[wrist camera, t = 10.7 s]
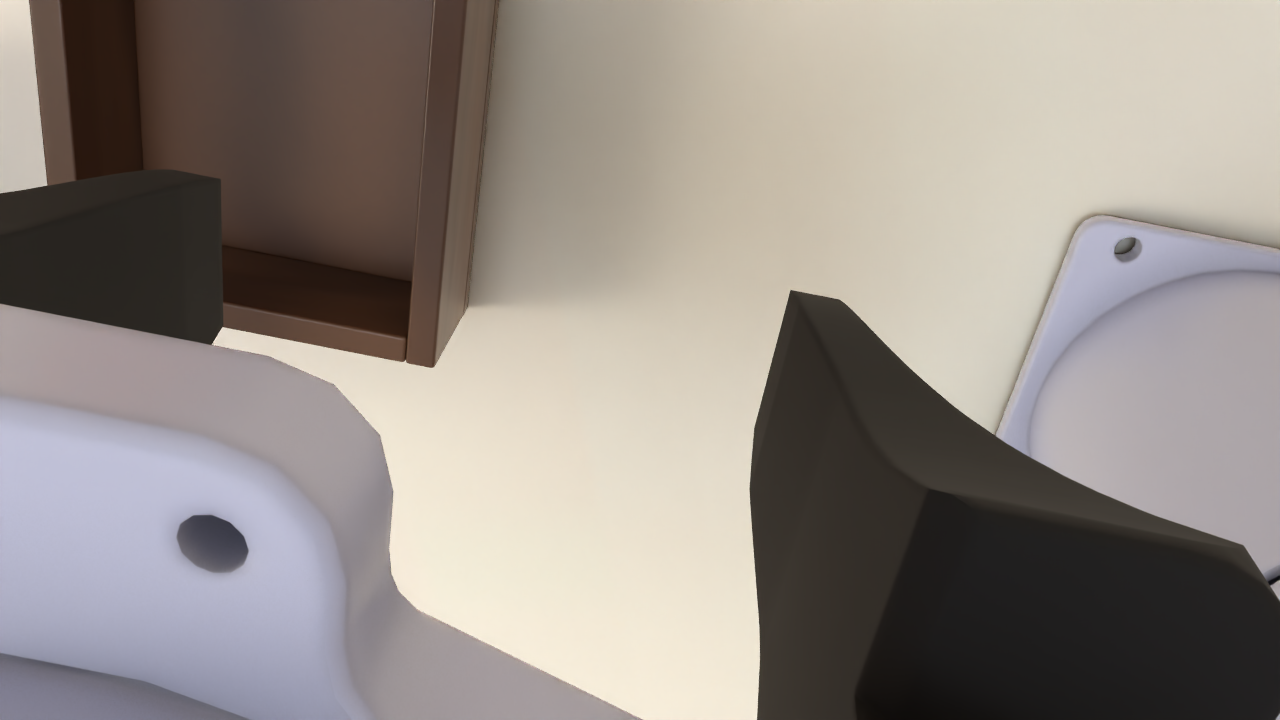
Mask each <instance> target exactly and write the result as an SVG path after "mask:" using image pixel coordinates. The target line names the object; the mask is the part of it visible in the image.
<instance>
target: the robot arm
mask: <svg viewBox="0 0 1280 720" xmlns="http://www.w3.org/2000/svg"><path fill="white" fill-rule="evenodd" d="M1128 237H1134V238H1136V242H1135V246H1134V247H1133V248H1132V250H1131V251H1129V252H1127V253H1125V254H1115V253H1114V250H1115V246H1116V245H1117V244H1118V242H1119V241H1121V240H1122V239H1124V238H1128ZM222 326H223V271H222V216H221V179H219V178H213V177H208V176H203V175H198V174H193V173H188V172H183V171H178V170H166V169H156V170H143V171H134V172H126V173H119V174H112V175H106V176H100V177H94V178H88V179H83V180H77V181H71V182H66V183H60V184H55V185H49V186H43V187H38V188H32V189H26V190H20V191H14V192H7V193H1V194H0V720H642V719H640V718H638V717H636V716H634V715H632V714H630V713H628V712H626V711H624V710H622V709H620V708H618V707H616V706H614V705H612V704H609V703H607V702H605V701H603V700H601V699H599V698H597V697H595V696H593V695H591V694H589V693H587V692H585V691H583V690H581V689H579V688H577V687H575V686H573V685H571V684H569V683H566V682H564V681H562V680H560V679H558V678H556V677H554V676H552V675H550V674H548V673H546V672H544V671H542V670H540V669H538V668H536V667H534V666H532V665H530V664H528V663H526V662H524V661H521V660H519V659H517V658H515V657H513V656H511V655H509V654H507V653H505V652H503V651H501V650H499V649H497V648H495V647H493V646H491V645H489V644H487V643H485V642H483V641H481V640H478V639H476V638H474V637H472V636H470V635H468V634H466V633H464V632H462V631H460V630H458V629H456V628H454V627H452V626H450V625H448V624H446V623H444V622H442V621H440V620H438V619H436V618H433V617H431V616H429V615H427V614H425V613H423V612H421V611H419V610H418V609H416V608H415V607H414V606H413V605H412V604H411V603H410V602H409V601H408V600H407V599H406V598H405V597H404V596H403V595H402V594H401V593H400V592H399V590H398V589H397V586H396V584H395V582H394V579H393V577H392V575H391V564H390V553H389V544H390V530H391V517H392V503H393V488H392V484H391V480H390V476H389V471H388V467H387V463H386V459H385V454H384V450H383V446H382V442H381V438H380V435H379V434H378V432H377V431H376V430H375V429H374V428H373V427H372V426H371V425H370V424H369V423H368V421H367V420H366V419H365V418H364V417H363V416H362V415H361V414H360V413H359V412H358V410H357V409H356V408H355V407H354V406H353V405H352V404H351V403H350V402H349V401H348V399H347V398H346V397H345V396H344V395H343V394H342V393H341V392H340V391H339V389H338V388H337V387H336V386H335V385H334V384H331V383H329V382H327V381H324V380H322V379H320V378H317V377H315V376H313V375H311V374H308V373H306V372H304V371H301V370H299V369H297V368H294V367H292V366H290V365H287V364H285V363H283V362H280V361H278V360H276V359H274V358H271V357H269V356H265V355H260V354H254V353H249V352H244V351H239V350H234V349H229V348H224V347H219V346H214V345H212V343H213V341H214V340H215V338H216V336H217V335H218V333H219V331H220V330H221V328H222ZM750 504H751V519H752V533H753V546H754V559H755V572H756V585H757V599H758V612H759V625H760V671H759V693H758V714H757V720H1280V249H1277V248H1272V247H1267V246H1262V245H1256V244H1251V243H1246V242H1241V241H1236V240H1231V239H1226V238H1221V237H1215V236H1210V235H1205V234H1200V233H1195V232H1190V231H1185V230H1179V229H1174V228H1169V227H1164V226H1159V225H1154V224H1149V223H1144V222H1138V221H1133V220H1128V219H1123V218H1118V217H1113V216H1102V215H1098V216H1095V217H1092V218H1089V219H1087V220H1086V221H1085V222H1083V223H1082V224H1081V225H1079V227H1078V229H1077V230H1076V232H1075V233H1074V236H1073V238H1072V241H1071V243H1070V246H1069V249H1068V251H1067V254H1066V256H1065V259H1064V261H1063V264H1062V266H1061V269H1060V272H1059V274H1058V277H1057V279H1056V282H1055V284H1054V287H1053V290H1052V292H1051V295H1050V297H1049V300H1048V302H1047V305H1046V307H1045V310H1044V313H1043V315H1042V318H1041V320H1040V323H1039V325H1038V328H1037V330H1036V333H1035V336H1034V338H1033V341H1032V343H1031V346H1030V348H1029V351H1028V353H1027V356H1026V359H1025V361H1024V364H1023V366H1022V369H1021V371H1020V374H1019V376H1018V379H1017V382H1016V384H1015V387H1014V389H1013V392H1012V394H1011V397H1010V399H1009V402H1008V405H1007V407H1006V410H1005V412H1004V415H1003V417H1002V420H1001V422H1000V425H999V428H998V430H997V433H996V435H993V434H992V433H990V432H989V431H988V430H986V429H985V428H983V427H982V426H980V425H979V424H977V423H976V422H974V421H973V420H971V419H970V418H969V417H967V416H966V415H965V414H963V413H962V412H961V411H959V410H958V409H957V408H955V407H954V406H953V405H951V404H950V403H949V402H948V401H947V400H945V399H944V398H943V397H942V396H941V395H940V394H938V393H937V392H936V391H935V390H934V389H933V388H931V387H930V386H929V385H928V384H927V383H925V382H924V381H923V380H922V379H921V378H920V377H919V376H918V375H917V374H915V373H914V372H913V371H912V370H911V369H910V368H909V367H908V366H907V365H906V364H905V363H904V362H903V361H902V360H901V359H900V358H899V357H898V356H897V355H896V354H895V353H894V352H893V351H892V350H891V349H890V348H889V347H888V346H887V345H886V344H885V343H884V342H883V341H882V340H881V339H880V338H879V337H878V336H877V335H876V334H875V333H874V332H873V331H872V330H871V329H870V328H869V327H868V326H867V325H866V324H865V323H864V322H863V321H862V320H861V319H860V318H859V317H858V316H857V315H856V314H855V313H854V312H853V311H852V310H851V309H850V308H849V307H848V306H847V305H846V304H845V303H843V302H842V301H841V300H839V299H834V298H829V297H823V296H818V295H813V294H808V293H803V292H798V291H793V290H791V291H790V294H789V298H788V302H787V306H786V310H785V314H784V317H783V321H782V325H781V329H780V333H779V336H778V340H777V344H776V348H775V352H774V356H773V359H772V363H771V367H770V371H769V375H768V378H767V382H766V386H765V390H764V394H763V398H762V401H761V405H760V409H759V413H758V417H757V420H756V424H755V428H754V439H753V451H752V463H751V477H750Z"/></svg>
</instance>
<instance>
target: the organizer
mask: <svg viewBox="0 0 1280 720" xmlns="http://www.w3.org/2000/svg"><path fill="white" fill-rule="evenodd" d="M29 4H30V14H31V24H32V34H33V44H34V54H35V64H36V74H37V84H38V94H39V105H40V115H41V125H42V135H43V145H44V155H45V165H46V175H47V185H48V186H49V185H55V184H60V183H66V182H71V181H77V180H83V179H88V178H94V177H100V176H106V175H112V174H119V173H126V172H134V171H143V170H156V169H166V170H178V171H183V172H188V173H193V174H198V175H203V176H208V177H213V178H219V179H221V216H222V271H223V326H222V327H226V328H231V329H236V330H241V331H246V332H251V333H256V334H261V335H267V336H272V337H277V338H282V339H287V340H292V341H297V342H302V343H308V344H313V345H318V346H323V347H328V348H333V349H338V350H343V351H348V352H354V353H359V354H364V355H369V356H374V357H379V358H384V359H389V360H395V361H400V362H404V361H405V360H406V362H407V363H409V364H415V365H420V366H425V367H430V368H433V367H434V366H435V365H436V363H437V361H438V359H439V357H440V356H441V354H442V352H443V350H444V348H445V347H446V345H447V343H448V341H449V339H450V338H451V336H452V334H453V332H454V330H455V329H456V327H457V325H458V323H459V321H460V320H461V318H462V316H463V315H464V313H465V311H466V309H467V307H468V298H469V288H470V279H471V269H472V259H473V250H474V240H475V230H476V221H477V211H478V201H479V192H480V182H481V172H482V163H483V153H484V143H485V134H486V124H487V114H488V105H489V95H490V85H491V76H492V66H493V56H494V47H495V37H496V27H497V18H498V8H499V0H29Z"/></svg>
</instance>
